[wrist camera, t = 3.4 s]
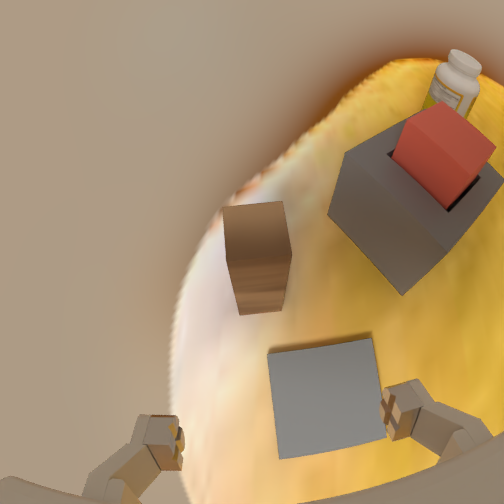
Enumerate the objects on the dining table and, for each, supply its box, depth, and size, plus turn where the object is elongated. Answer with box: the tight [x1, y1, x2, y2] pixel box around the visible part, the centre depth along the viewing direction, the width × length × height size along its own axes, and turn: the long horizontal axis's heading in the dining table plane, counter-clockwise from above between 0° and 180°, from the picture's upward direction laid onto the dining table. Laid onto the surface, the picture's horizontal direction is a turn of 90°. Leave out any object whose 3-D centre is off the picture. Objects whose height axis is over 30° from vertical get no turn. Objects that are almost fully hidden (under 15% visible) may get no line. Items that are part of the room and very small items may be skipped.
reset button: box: [391, 101, 496, 210], centre depth 22 cm, size 6×6×5 cm
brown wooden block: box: [223, 201, 292, 315], centre depth 23 cm, size 4×4×11 cm
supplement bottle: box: [421, 49, 482, 119], centre depth 33 cm, size 7×7×13 cm
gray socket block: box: [327, 109, 504, 295], centre depth 27 cm, size 13×11×9 cm
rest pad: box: [267, 338, 387, 459], centre depth 23 cm, size 9×9×1 cm
